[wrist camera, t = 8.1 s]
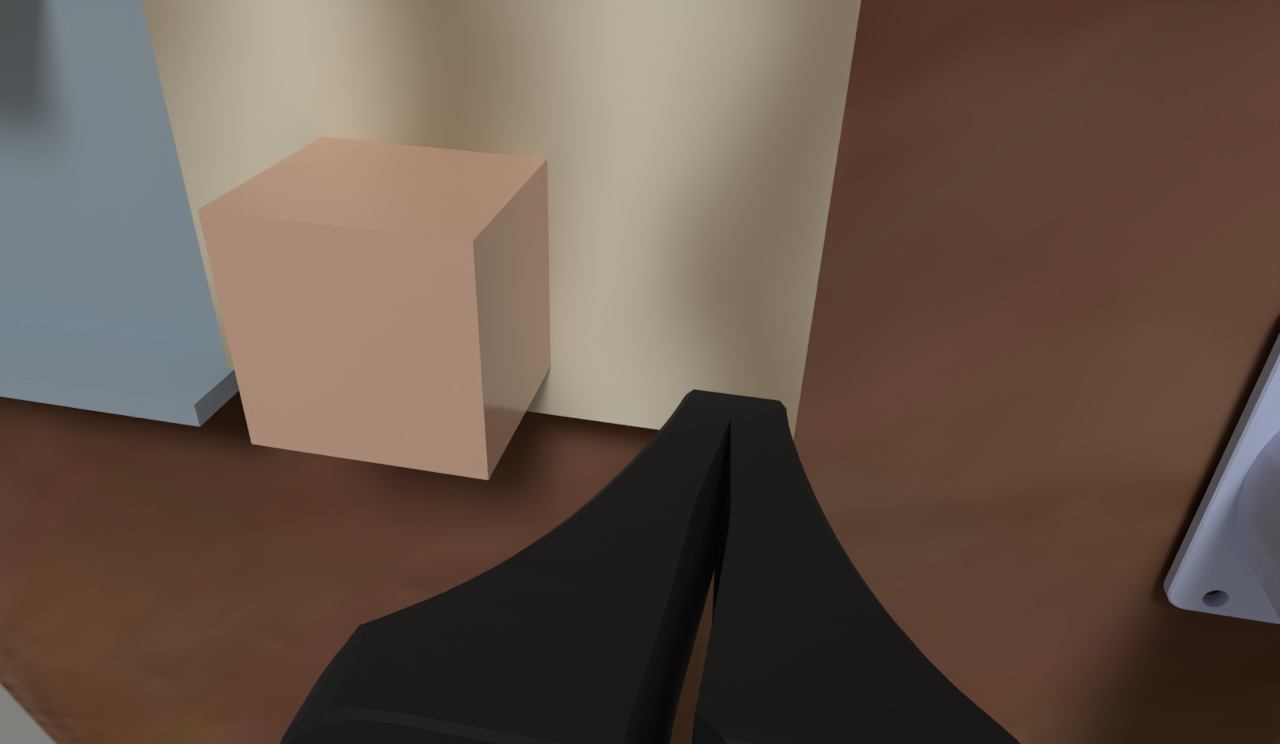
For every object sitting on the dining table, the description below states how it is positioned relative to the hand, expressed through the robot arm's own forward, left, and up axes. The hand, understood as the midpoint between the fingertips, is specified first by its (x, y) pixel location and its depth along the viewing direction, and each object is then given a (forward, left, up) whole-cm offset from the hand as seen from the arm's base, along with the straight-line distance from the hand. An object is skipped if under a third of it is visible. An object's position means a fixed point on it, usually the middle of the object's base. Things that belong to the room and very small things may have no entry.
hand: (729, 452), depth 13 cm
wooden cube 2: (+6, 0, -5) cm, 8 cm away
